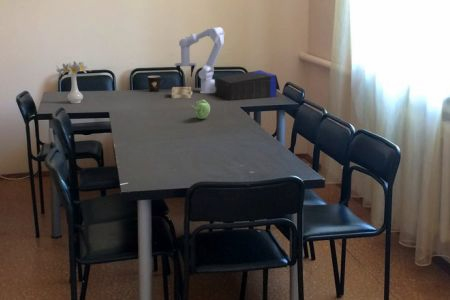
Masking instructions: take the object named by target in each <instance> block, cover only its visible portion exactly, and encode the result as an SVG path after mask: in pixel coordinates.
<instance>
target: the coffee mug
mask: <svg viewBox="0 0 450 300" xmlns="http://www.w3.org/2000/svg"><path fill="white" fill-rule="evenodd" d="M162 80H164V83H162V84H161V81H162ZM147 82H148V89H149V93H159V92H160V88H161V87H162V86H163V85H165V84H166V82H167V80H166V78H163V77H162V78H161V76H160V75H148V76H147Z"/></svg>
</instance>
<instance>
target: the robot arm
mask: <svg viewBox="0 0 450 300" xmlns="http://www.w3.org/2000/svg"><path fill="white" fill-rule="evenodd" d="M225 34H226V33H225V31H224V29H223V28H222V27H220V26H218V27H210V28H207V29H206V30H203V31H202V32H200V33H198V34H196V33H191V34H190V35H189V36H185V38H181V39H180V40H179V41H178V45H179V46H180V62H174V67H175V68H176V69H177V72H178V75H179V78H181V77H182V76H181V75H182V74H181V67H190V78H192V77H193V72H194V70H195V67H197V62H190V60H191V59H190V47H191V46H192V45H194V44H196V43H198V42H199V41H200V39H203V38H205V37H210V38H211V40H212V41H213V43H214V44H213V47H212V49H211V51H210V53H209V55H208V58H207V61H206V63H205V65H204V66H203V67H202V68H201V70H199V72H198V77H199V79H200V94H216V79H213V76H214V72H215V68H214V67H215V64H216V62H217V60H218V57H219V56H220V53H221V51H222V48H223V47H224V43H225V41H224V38H225Z"/></svg>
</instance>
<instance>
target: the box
mask: <svg viewBox="0 0 450 300" xmlns="http://www.w3.org/2000/svg"><path fill="white" fill-rule="evenodd" d="M191 91H192V86H172V88H171V99H191V98H192V94H191Z"/></svg>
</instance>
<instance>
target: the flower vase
mask: <svg viewBox="0 0 450 300" xmlns="http://www.w3.org/2000/svg"><path fill="white" fill-rule="evenodd" d="M72 63H73V64H72ZM55 67H56V72H57V73H58V77H59V78H60V77H61V76H63V75H65V74H66V73H68V74H67V75H68V76H70V77H71V80H70V81H71V90H70V92H69V93H68V94H67V97H66V98H67V100H68V101H70V103H71V104H79V103H82V102H81V101H82V100H83V98H84V95H83V93H82V92H81V91H79V88H78V81H77V77H78V73H79V72H83V73H85V74H87V71H86V70H87V69H88V66H87V65H84V62H83V61H81V62H78V63H77V62H76V61H72V62H71V61H69V63H62V68H60V67H58V65H55Z"/></svg>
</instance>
